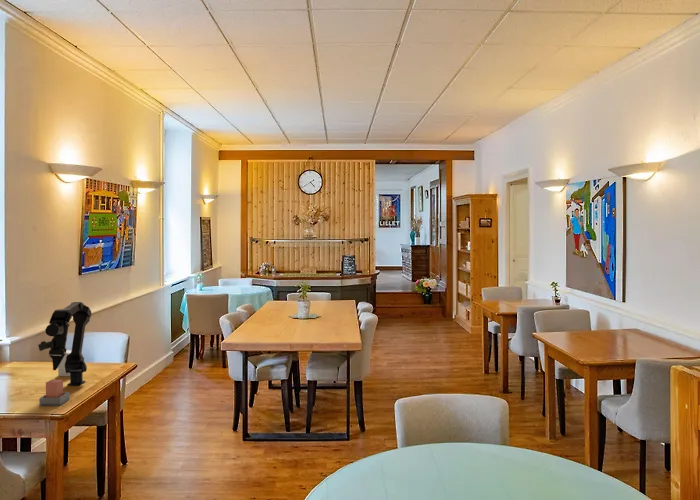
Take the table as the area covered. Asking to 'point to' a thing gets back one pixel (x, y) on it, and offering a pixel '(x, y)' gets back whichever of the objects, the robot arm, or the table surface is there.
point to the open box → (54, 400)
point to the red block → (54, 388)
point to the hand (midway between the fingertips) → (55, 369)
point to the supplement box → (63, 365)
